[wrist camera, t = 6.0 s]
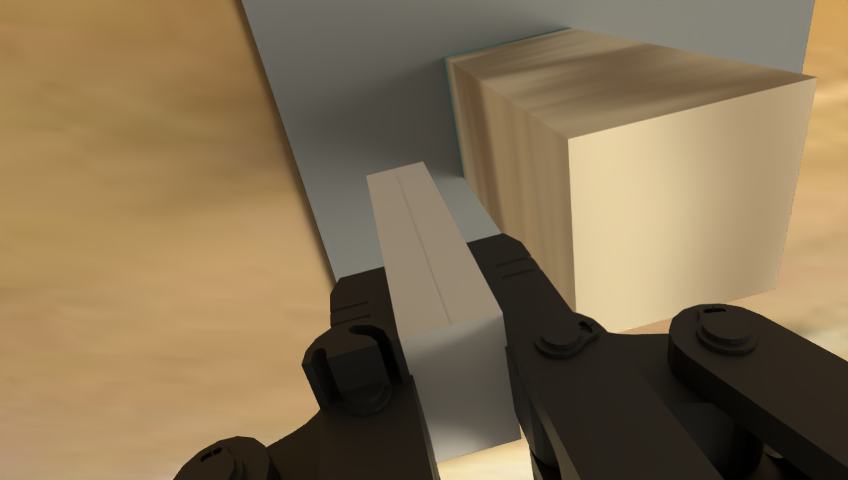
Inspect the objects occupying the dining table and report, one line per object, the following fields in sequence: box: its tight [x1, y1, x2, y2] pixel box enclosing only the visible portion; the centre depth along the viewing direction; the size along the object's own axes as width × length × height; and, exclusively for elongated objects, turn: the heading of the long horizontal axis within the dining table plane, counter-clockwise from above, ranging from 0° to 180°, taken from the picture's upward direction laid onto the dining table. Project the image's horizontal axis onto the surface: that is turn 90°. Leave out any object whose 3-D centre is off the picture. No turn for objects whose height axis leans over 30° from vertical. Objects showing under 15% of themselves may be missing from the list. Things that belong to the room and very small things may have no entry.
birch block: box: [444, 27, 818, 333], centre depth 15 cm, size 5×5×11 cm
